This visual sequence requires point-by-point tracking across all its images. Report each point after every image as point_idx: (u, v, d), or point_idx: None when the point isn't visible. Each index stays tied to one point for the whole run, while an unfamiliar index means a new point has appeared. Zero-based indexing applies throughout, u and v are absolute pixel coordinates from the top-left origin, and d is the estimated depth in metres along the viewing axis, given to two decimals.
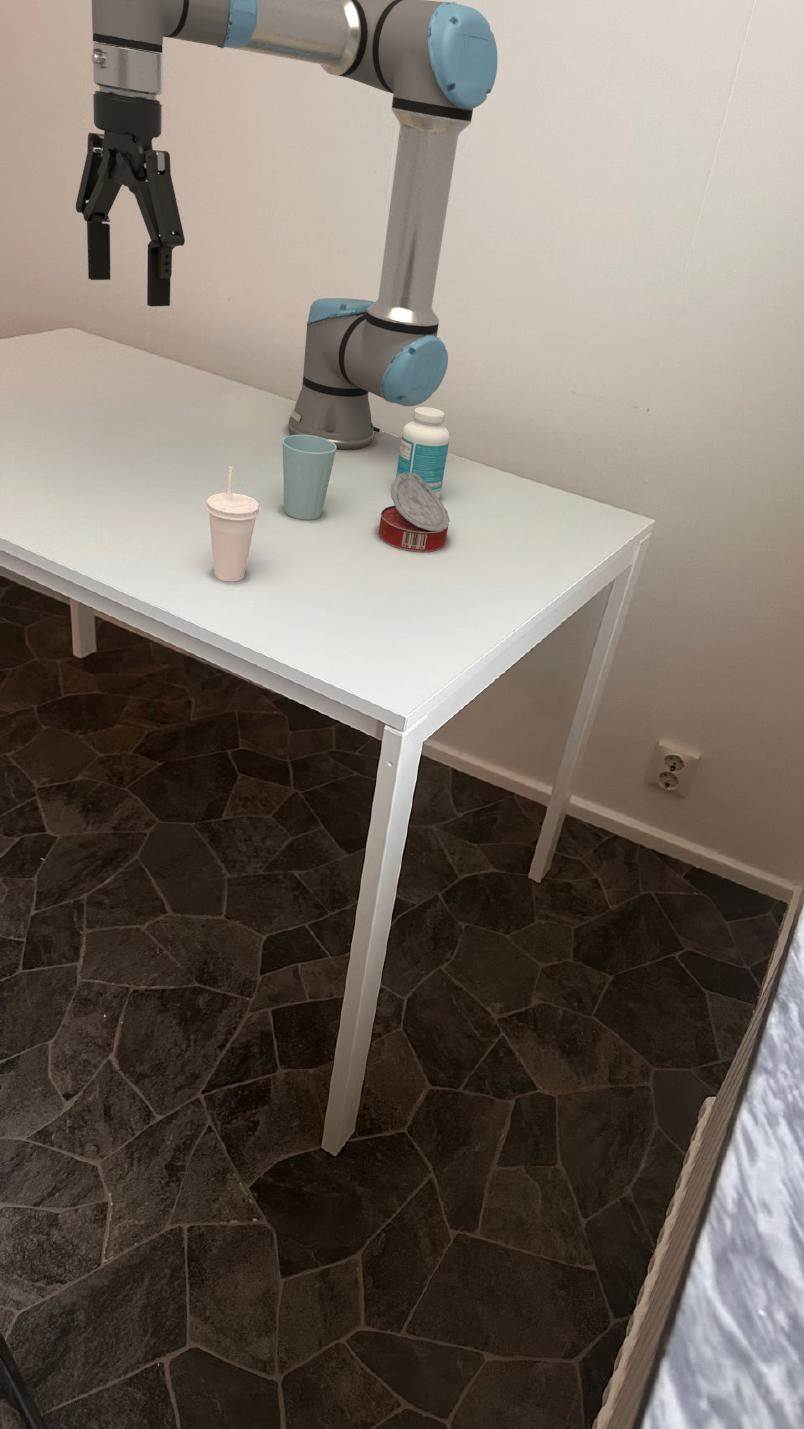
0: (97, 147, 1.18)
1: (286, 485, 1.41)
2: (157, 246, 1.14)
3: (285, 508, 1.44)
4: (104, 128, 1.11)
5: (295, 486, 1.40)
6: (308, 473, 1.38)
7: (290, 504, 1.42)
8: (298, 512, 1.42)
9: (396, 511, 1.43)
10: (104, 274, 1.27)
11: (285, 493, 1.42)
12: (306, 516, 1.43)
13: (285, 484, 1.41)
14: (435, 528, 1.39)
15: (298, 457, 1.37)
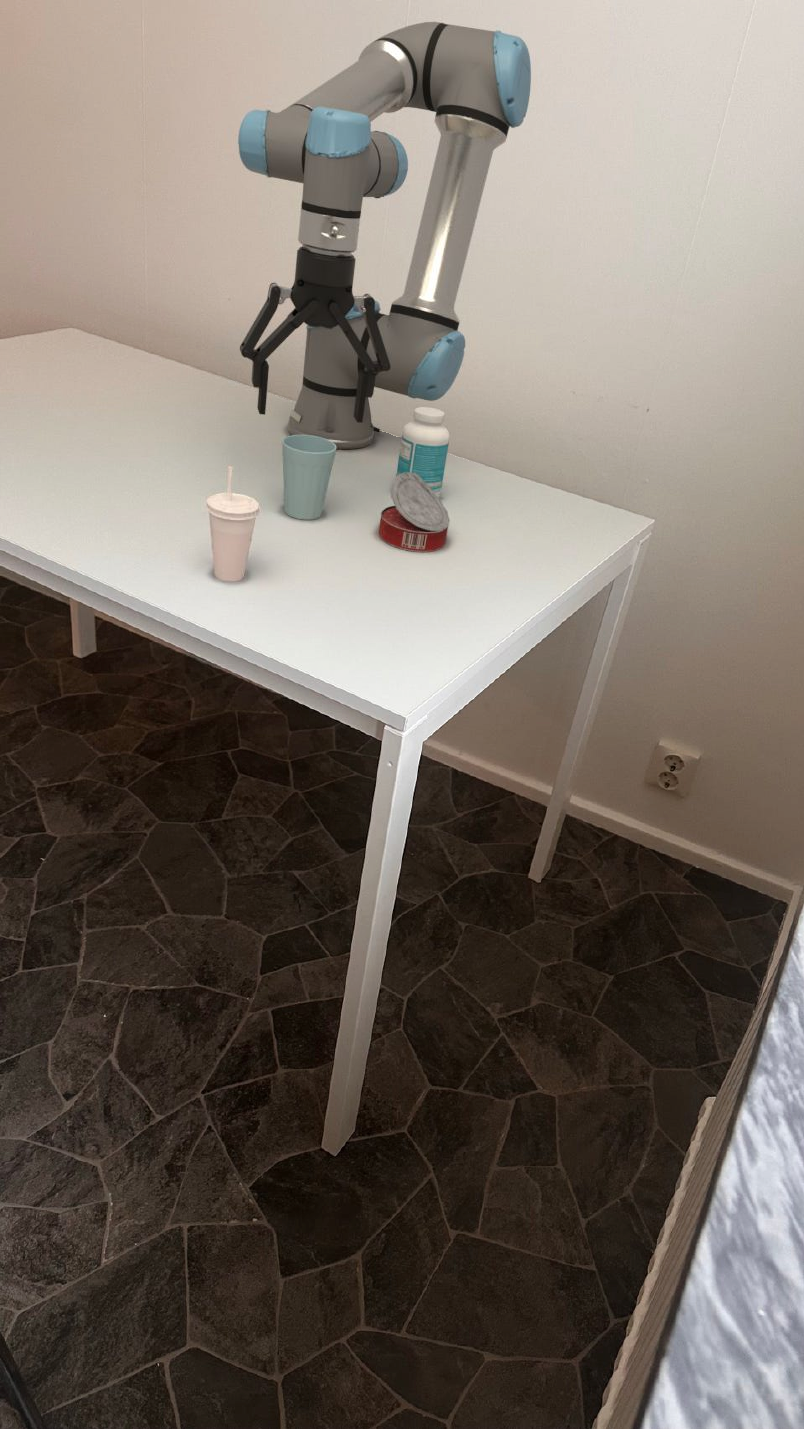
0: (281, 298, 1.27)
1: (286, 485, 1.41)
2: None
3: (285, 508, 1.44)
4: (335, 286, 1.25)
5: (295, 486, 1.40)
6: (308, 473, 1.38)
7: (290, 504, 1.42)
8: (298, 512, 1.42)
9: (396, 511, 1.43)
10: None
11: (285, 493, 1.42)
12: (306, 516, 1.43)
13: (285, 484, 1.41)
14: (435, 528, 1.39)
15: (297, 457, 1.37)
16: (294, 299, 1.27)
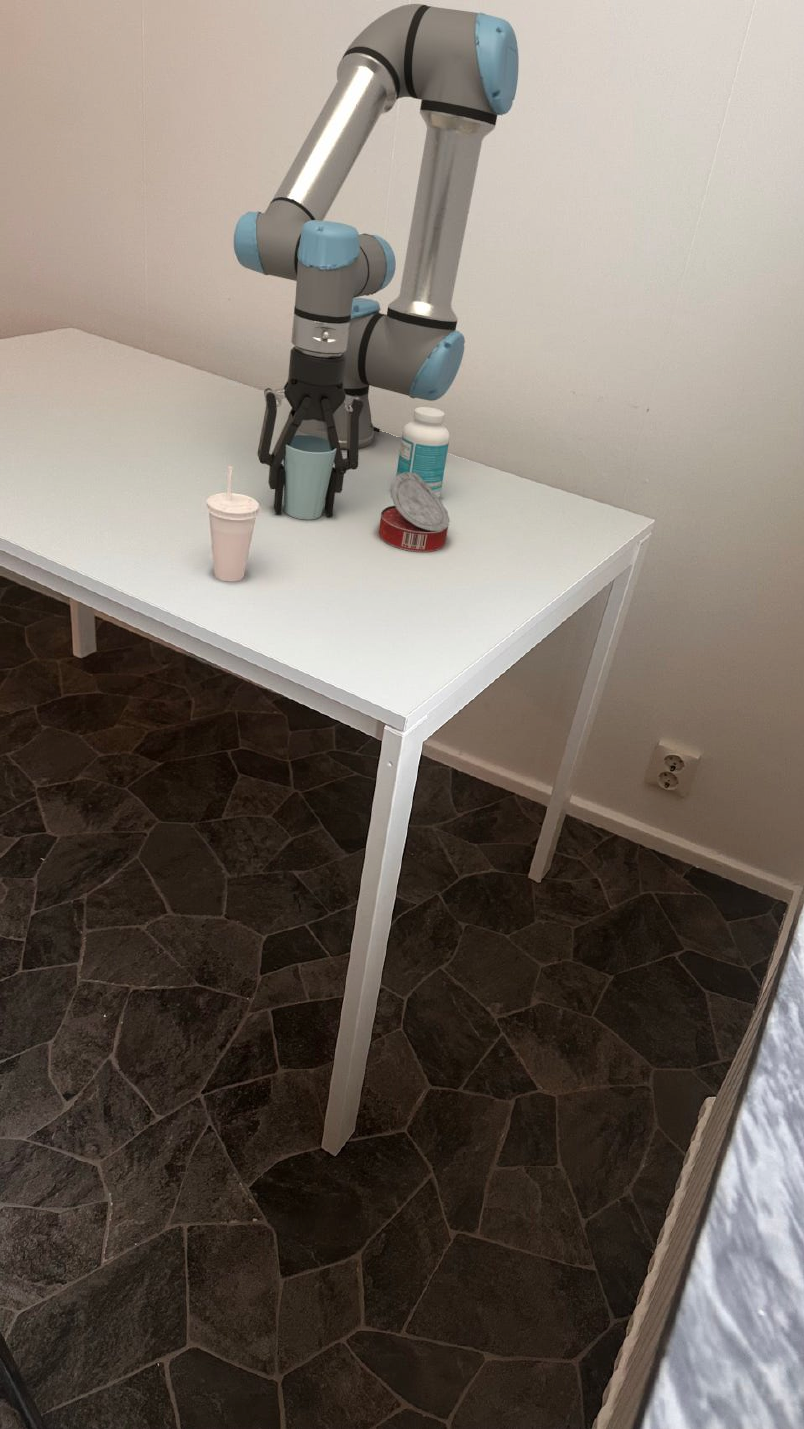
0: (277, 401, 1.34)
1: (286, 485, 1.41)
2: None
3: (285, 508, 1.44)
4: (326, 385, 1.32)
5: (295, 486, 1.40)
6: (308, 473, 1.38)
7: (290, 504, 1.42)
8: (298, 512, 1.42)
9: (396, 511, 1.43)
10: None
11: (285, 493, 1.42)
12: (306, 516, 1.43)
13: (285, 484, 1.41)
14: (435, 528, 1.39)
15: (298, 457, 1.37)
16: (289, 397, 1.34)
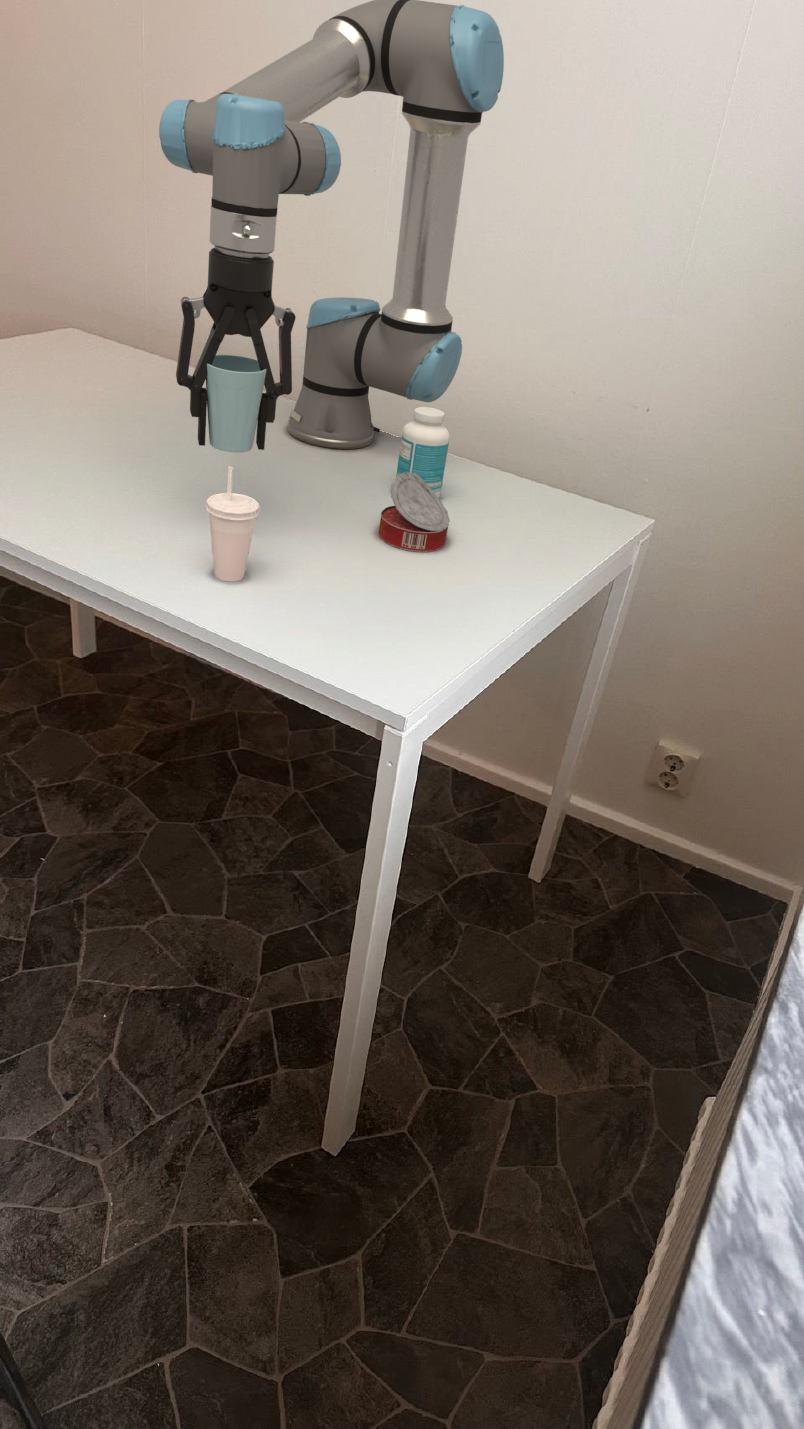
0: (195, 311, 1.17)
1: (210, 412, 1.24)
2: None
3: (210, 439, 1.26)
4: (250, 291, 1.15)
5: (219, 412, 1.22)
6: (233, 396, 1.21)
7: (215, 434, 1.25)
8: (224, 443, 1.25)
9: (396, 511, 1.43)
10: None
11: (209, 421, 1.25)
12: (233, 448, 1.25)
13: (209, 411, 1.24)
14: (435, 528, 1.39)
15: (221, 378, 1.20)
16: (209, 307, 1.17)
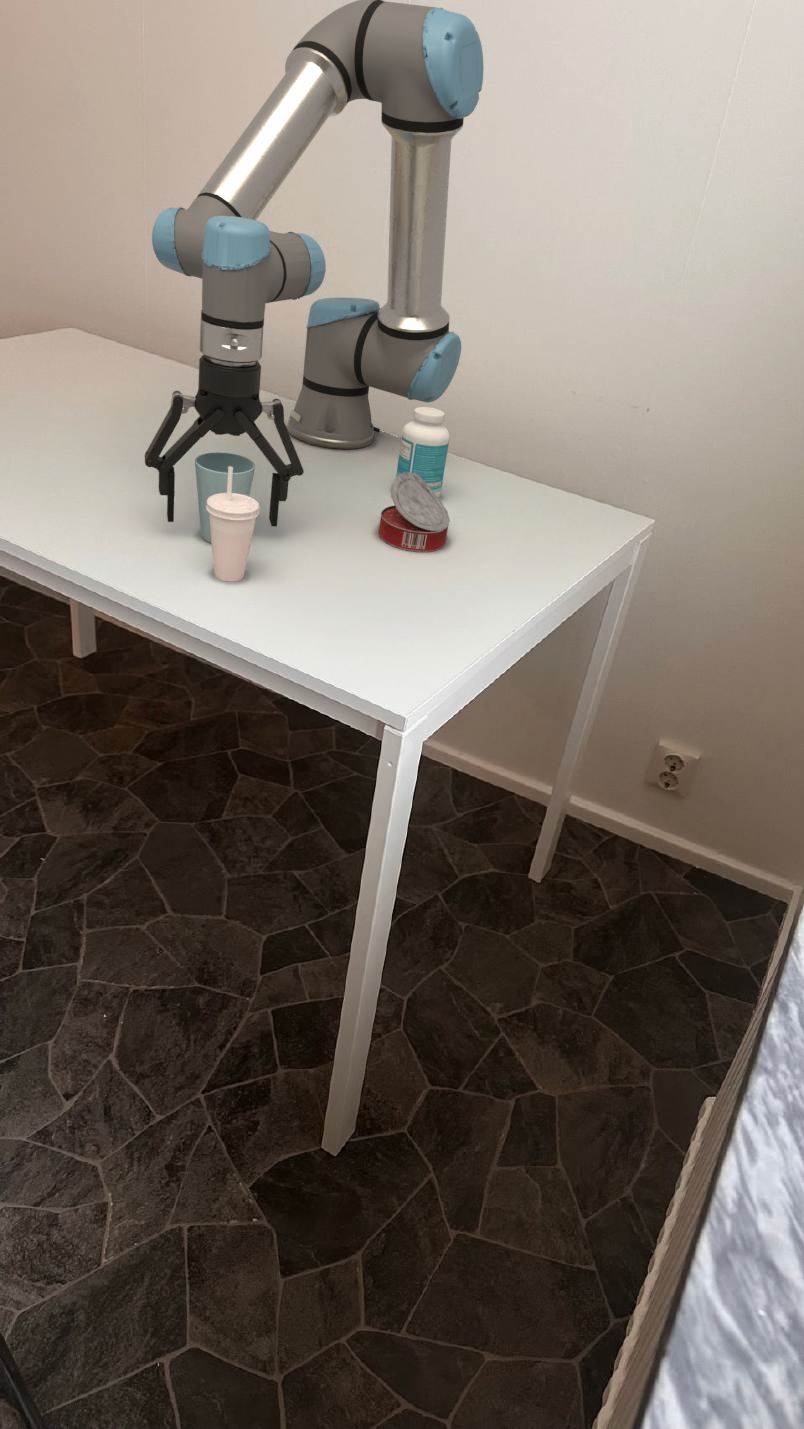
0: (184, 407, 1.22)
1: (201, 508, 1.30)
2: None
3: (201, 532, 1.32)
4: (239, 397, 1.20)
5: None
6: None
7: (206, 528, 1.31)
8: None
9: (396, 511, 1.43)
10: None
11: (200, 516, 1.31)
12: None
13: (200, 506, 1.30)
14: (435, 528, 1.39)
15: (210, 478, 1.26)
16: (198, 408, 1.23)
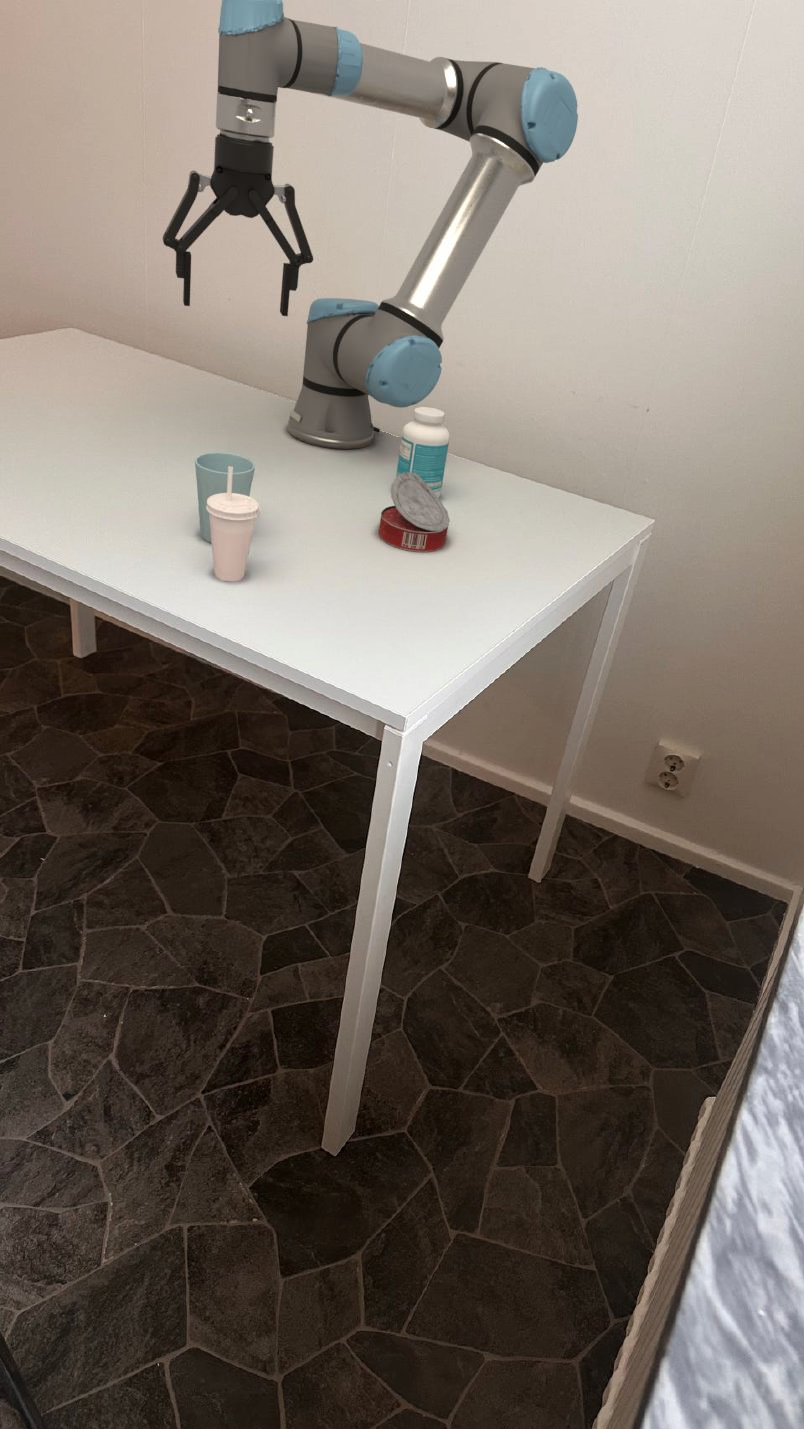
0: (200, 185, 1.29)
1: (201, 508, 1.30)
2: None
3: (201, 532, 1.32)
4: (252, 172, 1.27)
5: None
6: None
7: (206, 528, 1.31)
8: None
9: (396, 511, 1.43)
10: None
11: (200, 516, 1.31)
12: None
13: (200, 506, 1.30)
14: (435, 528, 1.39)
15: (210, 478, 1.26)
16: (214, 186, 1.29)
